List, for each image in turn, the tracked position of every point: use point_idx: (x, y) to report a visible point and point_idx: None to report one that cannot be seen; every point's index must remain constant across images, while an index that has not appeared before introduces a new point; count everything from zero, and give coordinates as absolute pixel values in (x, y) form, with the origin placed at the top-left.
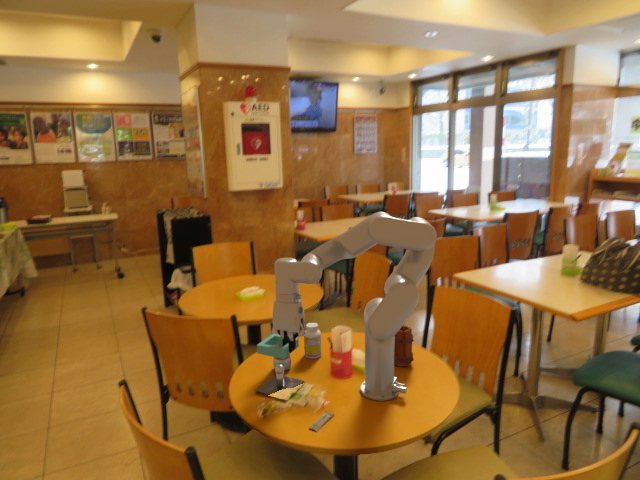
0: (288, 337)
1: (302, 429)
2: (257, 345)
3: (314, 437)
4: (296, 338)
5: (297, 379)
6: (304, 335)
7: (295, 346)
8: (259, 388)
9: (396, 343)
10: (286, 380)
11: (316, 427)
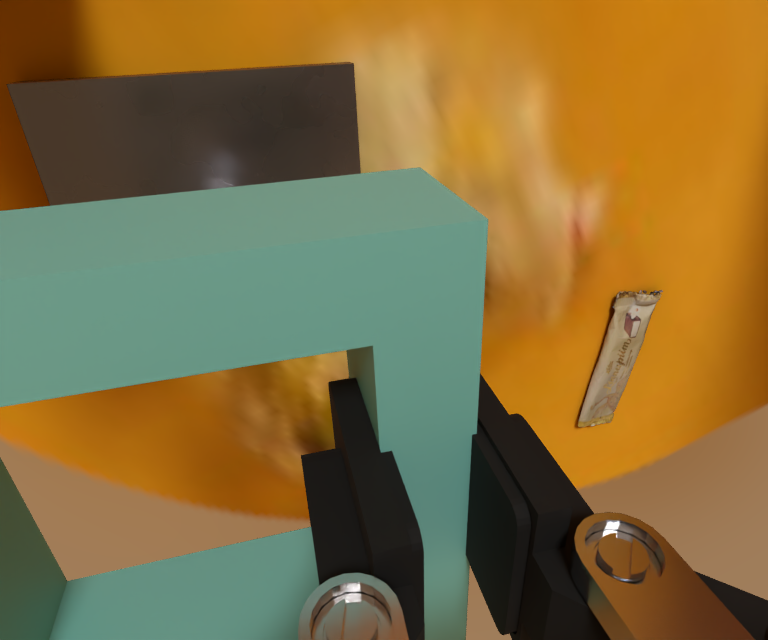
0: (418, 565)
1: (549, 439)
2: None
3: (611, 446)
4: (447, 258)
5: (282, 71)
6: None
7: (524, 430)
8: None
9: None
10: (207, 139)
11: (604, 405)
